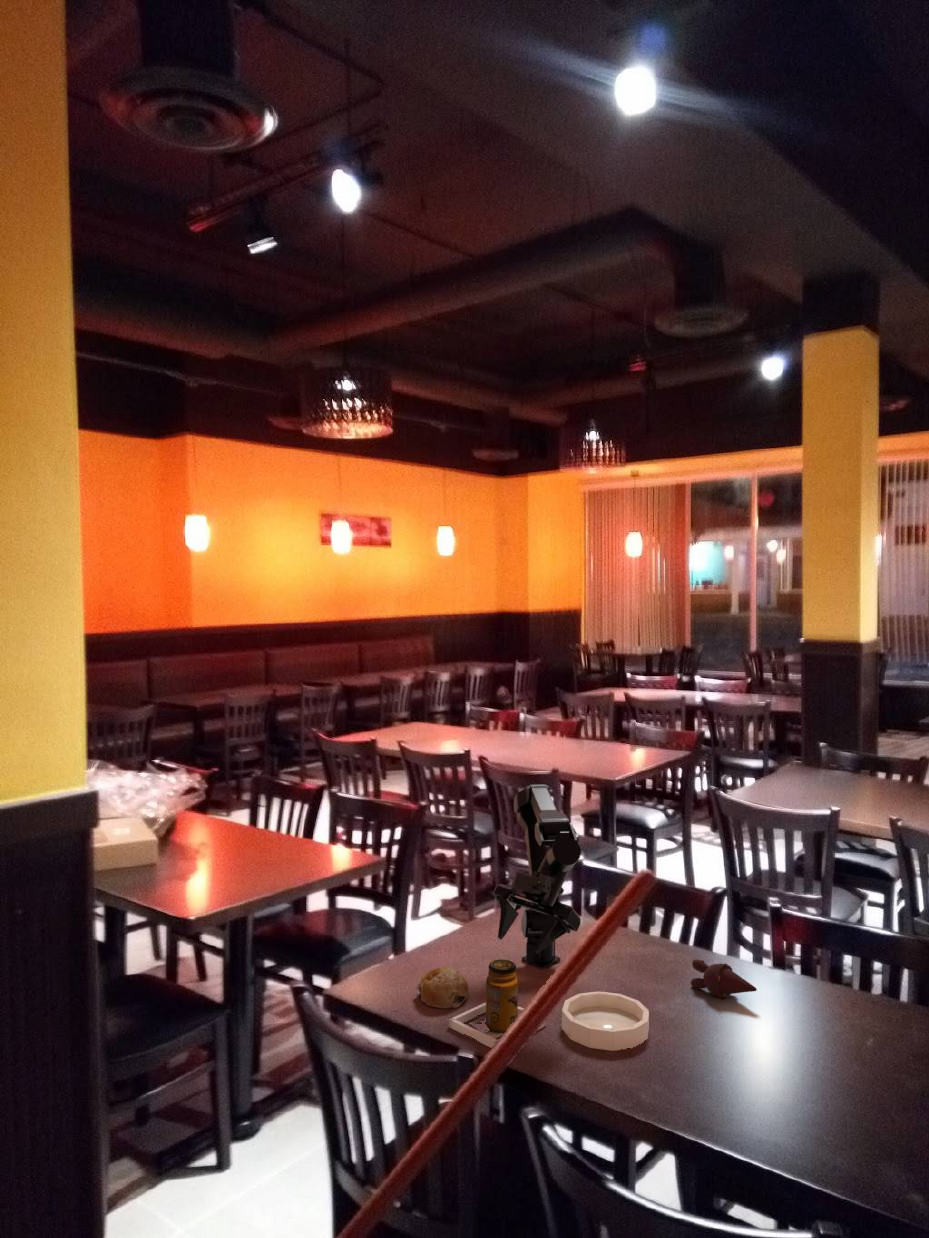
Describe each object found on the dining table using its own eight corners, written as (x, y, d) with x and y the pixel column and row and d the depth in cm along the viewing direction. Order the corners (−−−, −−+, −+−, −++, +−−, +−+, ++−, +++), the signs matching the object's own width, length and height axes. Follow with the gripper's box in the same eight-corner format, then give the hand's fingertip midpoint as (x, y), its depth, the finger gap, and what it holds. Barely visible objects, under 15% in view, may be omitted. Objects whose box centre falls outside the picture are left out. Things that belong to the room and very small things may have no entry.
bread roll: (439, 1030, 176) (453, 998, 174) (404, 995, 182) (417, 964, 180) (469, 1011, 184) (483, 981, 182) (434, 978, 190) (447, 949, 187)
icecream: (766, 970, 182) (702, 955, 193) (747, 971, 177) (683, 955, 188) (764, 1006, 180) (700, 989, 191) (745, 1008, 175) (680, 990, 186)
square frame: (497, 1004, 180) (497, 996, 179) (545, 1025, 171) (545, 1017, 171) (448, 1027, 170) (448, 1019, 170) (497, 1051, 161) (497, 1042, 161)
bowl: (595, 1001, 181) (596, 984, 181) (664, 1028, 170) (664, 1010, 170) (545, 1028, 170) (546, 1010, 170) (616, 1059, 158) (616, 1039, 158)
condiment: (526, 1028, 170) (527, 966, 169) (490, 1040, 165) (490, 976, 165) (504, 1013, 176) (504, 953, 175) (468, 1024, 171) (468, 962, 171)
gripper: (498, 845, 185) (463, 913, 178) (573, 867, 173) (538, 940, 166) (521, 872, 192) (488, 938, 184) (595, 895, 180) (562, 966, 172)
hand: (517, 945), depth 176 cm, fingers open, 9 cm apart
